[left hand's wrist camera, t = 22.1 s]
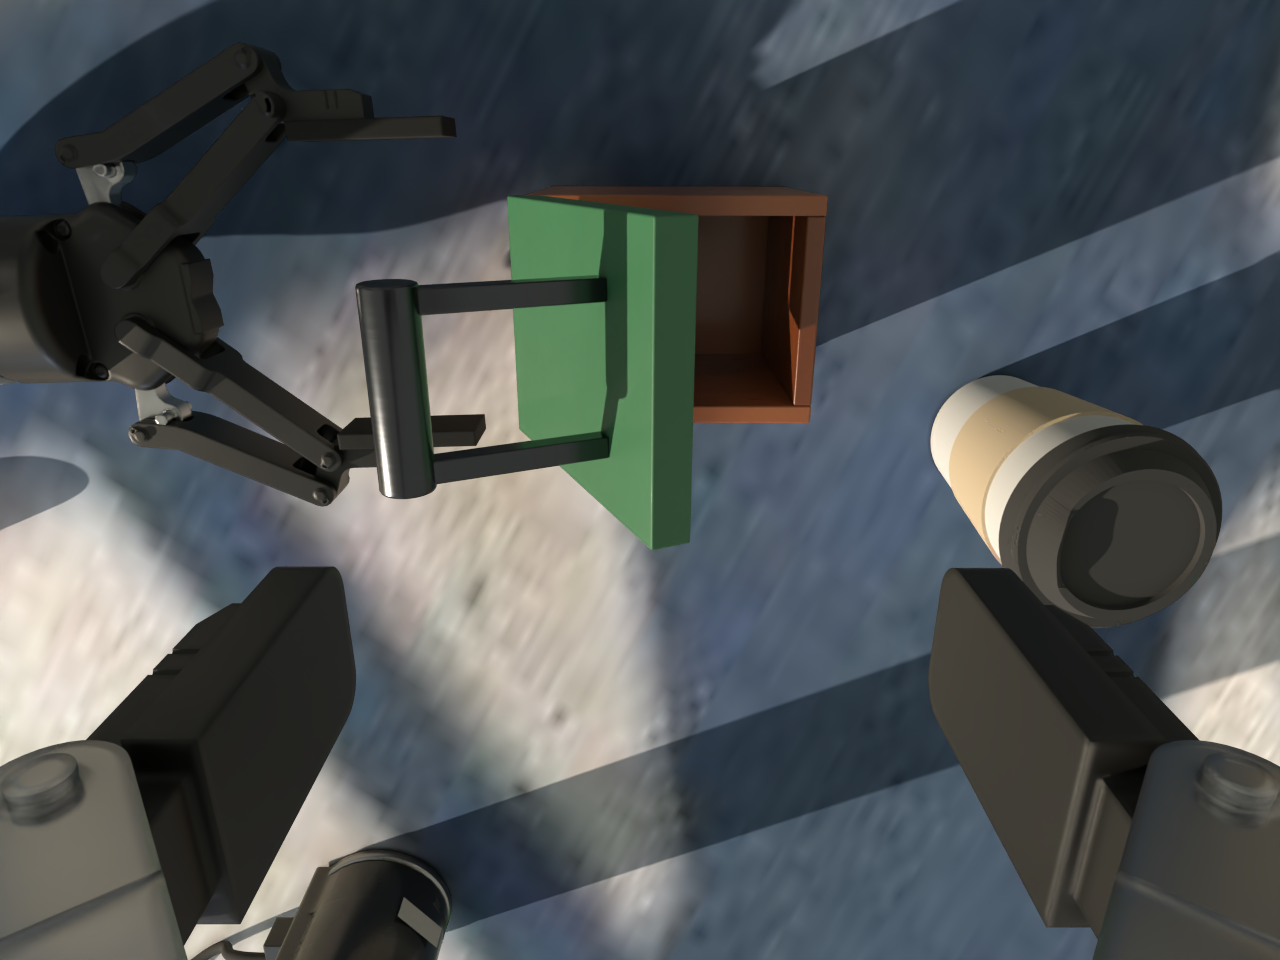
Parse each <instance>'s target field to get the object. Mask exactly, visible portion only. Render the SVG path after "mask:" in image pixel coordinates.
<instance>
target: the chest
mask: <svg viewBox="0 0 1280 960" xmlns="http://www.w3.org/2000/svg"><path fill="white" fill-rule="evenodd" d="M527 195H541V196H549V197H557V198H566V199H574V200H582V201H591V202H599V203H608V204H616V205H624V206H633V207H641V208H649V209H658V210H666V211H674V212H683V213H691V214H697V215H698V217H699V218H698V255H697V293H696V330H695V368H694V406H693V423H809V422H810V414H811V406H810V405H811V401H812V388H813V376H814V363H815V351H816V338H817V325H818V313H819V300H820V288H821V275H822V262H823V250H824V237H825V225H826V217H825V216H826V215H827V202H828V196H827V195H823V194H818V193H812V192H807V191H802V190H797V189H792V188H787V187H784V186H551V187H549V188H546V189H543V190H539V191H536V192H533V193H530V194H527Z"/></svg>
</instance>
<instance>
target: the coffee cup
mask: <svg viewBox="0 0 1280 960" xmlns="http://www.w3.org/2000/svg"><path fill="white" fill-rule="evenodd" d="M931 451H932V456H933V459H934V462H935V464H936V466H937V468H938V469H939V471H940V472H941V474H942V475H943V477H944V478H945V480H946V481H947V482H948V484H949V485H950V487H951V488H952V490H953V493H954V495H955V497H956V499H957V501H958V502H959V504H960V505H961V507H962V508H963V510H964V511H965V513H966V514H967V516H968V517H969V519H970V520H971V522H972V523H973V525H974V526H975V528H976V529H977V531H978V532H979V534H980V535H981V537H982V538H983V540H984V541H985V543H986V545H987V546H988V548H989V549H990V551H991V552H992V554H993V555H994V556H995V558H996V559H997V560H998V561H999V562H1000V563H1001V564H1002V566H1003V568H1009V569H1011V570H1013V571H1014V572H1015V573H1016V574H1017V576H1018V577H1019V578H1020V579H1021V580H1022V581H1023V582H1024V583H1025V584H1026V585H1027V587H1028V588H1029V589H1030V590H1031V591H1032V592H1033V593H1034V594H1035V595H1036V597H1037V598H1038V599H1039V600H1040V601H1041V602H1042V603H1043V604H1044V605H1054V606H1056V607H1058V608H1059V609H1061V610H1063V611H1064V612H1066V613H1068V614H1070V615H1071V616H1073V617H1075V618H1077V619H1078V620H1080V621H1082V622H1083V623H1085V624H1087V625H1089V626H1090V627H1091V628H1105V627H1114V626H1119V625H1124V624H1128V623H1131V622H1135V621H1137V620H1140V619H1143V618H1145V617H1147V616H1149V615H1151V614H1153V613H1156V612H1158V611H1160V610H1162V609H1164V608H1166V607H1167V606H1169V605H1171V604H1172V603H1174V602H1175V601H1176V600H1178V599H1179V598H1180V597H1182V596H1183V595H1184V594H1185V593H1186V592H1187V591H1188V590H1189V589H1190V588H1191V587H1192V586H1193V585H1194V584H1195V583H1196V581H1197V580H1198V579H1199V578H1200V576H1201V575H1202V573H1203V572H1204V570H1205V568H1206V567H1207V565H1208V563H1209V560H1210V558H1211V556H1212V553H1213V550H1214V548H1215V545H1216V542H1217V539H1218V536H1219V532H1220V528H1221V521H1222V499H1221V493H1220V489H1219V486H1218V483H1217V480H1216V478H1215V476H1214V474H1213V472H1212V470H1211V468H1210V467H1209V466H1208V464H1207V463H1206V462H1205V460H1204V459H1203V458H1202V457H1201V456H1200V455H1199V454H1198V452H1197V451H1196V450H1195V449H1194V448H1193V447H1192V446H1191V445H1189V444H1188V443H1187V442H1185V441H1184V440H1183V439H1181V438H1179V437H1178V436H1176V435H1174V434H1172V433H1170V432H1167V431H1165V430H1162V429H1159V428H1155V427H1150V426H1145V425H1143V424H1141V423H1140V422H1138V421H1136V420H1134V419H1131V418H1129V417H1126V416H1124V415H1121V414H1119V413H1116V412H1113V411H1111V410H1108V409H1106V408H1103V407H1100V406H1098V405H1095V404H1092V403H1090V402H1087V401H1085V400H1082V399H1079V398H1077V397H1074V396H1072V395H1069V394H1066V393H1064V392H1061V391H1058V390H1055V389H1052V388H1046V387H1039V386H1037V385H1034V384H1032V383H1029V382H1027V381H1024V380H1022V379H1019V378H1016V377H1012V376H1005V375H994V376H988V377H983V378H980V379H977V380H974V381H972V382H970V383H968V384H966V385H965V386H963V387H962V388H960V389H959V390H957V391H956V392H955V393H954V394H953V395H952V396H951V397H950V398H949V399H948V400H947V401H946V402H945V404H944V405H943V406H942V408H941V409H940V411H939V413H938V415H937V417H936V419H935V422H934V424H933V428H932V433H931Z"/></svg>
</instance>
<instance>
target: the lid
mask: <svg viewBox="0 0 1280 960" xmlns="http://www.w3.org/2000/svg"><path fill="white" fill-rule="evenodd" d="M507 201H508V220H509V239H510V258H511V277H512V280H502V281H484V282H467V283H450V284H432V285H418V283H417V282H415V281H412V280H405V279H381V280H370V281H364V282H360V283H358V284H356V287H355V288H356V297H357V305H358V313H359V322H360V330H361V339H362V347H363V355H364V364H365V372H366V381H367V389H368V397H369V406H370V414H371V423H372V431H373V439H374V448H375V456H376V465H377V473H378V481H379V490H380V492H381V494H382V495H384V496H386V497H389V498H394V499H410V498H417V497H421V496H424V495H427V494H429V493H431V492H433V491H434V490H435V489H436V486H437V484H441V483H447V482H454V481H461V480H467V479H474V478H480V477H487V476H493V475H500V474H507V473H513V472H520V471H526V470H533V469H539V468H546V467H552V466H560V467H561V468H562V469H563V470H565V471H566V472H567V473H568V474H569V475H570V476H571V477H572V478H573V479H574V480H575V481H577V482H578V483H579V484H580V485H581V486H582V487H583V488H584V489H585V490H586V491H587V492H589V493H590V494H591V495H592V496H593V497H594V498H595V499H596V500H597V501H598V502H599V503H601V504H602V505H603V506H604V507H605V508H606V509H607V510H608V511H609V512H610V513H612V514H613V515H614V516H615V517H616V518H617V519H618V520H619V521H620V522H621V523H622V524H624V525H625V526H626V527H627V528H628V529H629V530H630V531H631V532H632V533H633V534H634V535H636V536H637V537H638V538H639V539H640V540H641V541H642V542H643V543H644V544H645V545H646V546H648V547H649V548H650V549H651V550H656V549H661V548H666V547H671V546H675V545H680V544H685V543H689V542H690V519H691V481H692V443H693V406H694V368H695V330H696V293H697V255H698V218H699V217H698V215H697V214H691V213H683V212H674V211H666V210H658V209H649V208H641V207H633V206H624V205H616V204H608V203H599V202H591V201H582V200H574V199H566V198H557V197H549V196H541V195H518V196H508V197H507ZM501 309H513V316H514V335H515V354H516V373H517V392H518V411H519V429H520V430H521V431H522V432H523V433H524V434H525V435H526V436H527V437H528V438H530V439H531V440H532V441H526V442H518V443H511V444H504V445H497V446H489V447H482V448H475V449H468V450H460V451H453V452H446V453H439V454H434V449H433V438H432V428H431V417H430V406H429V395H428V384H427V373H426V362H425V352H424V341H423V330H422V319H421V315H432V314H446V313H460V312H473V311H487V310H501Z"/></svg>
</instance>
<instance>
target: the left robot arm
mask: <svg viewBox="0 0 1280 960" xmlns="http://www.w3.org/2000/svg"><path fill="white" fill-rule="evenodd" d="M928 684H929V695H930V701H931V705H932V709H933V712H934V715H935V717H936V720H937V721H938V723H939V725H940V727H941V729H942V731H943V733H944V735H945V737H946V739H947V740H948V742H949V744H950V746H951V748H952V750H953V752H954V754H955V756H956V757H957V759H958V761H959V763H960V765H961V767H962V769H963V771H964V773H965V774H966V776H967V778H968V780H969V782H970V784H971V786H972V788H973V790H974V791H975V793H976V795H977V797H978V799H979V801H980V803H981V805H982V807H983V809H984V810H985V812H986V814H987V816H988V818H989V820H990V822H991V824H992V826H993V827H994V829H995V831H996V833H997V835H998V837H999V839H1000V841H1001V843H1002V844H1003V846H1004V848H1005V850H1006V852H1007V854H1008V856H1009V858H1010V860H1011V862H1012V863H1013V865H1014V867H1015V869H1016V871H1017V873H1018V875H1019V877H1020V879H1021V880H1022V882H1023V884H1024V886H1025V888H1026V890H1027V892H1028V894H1029V896H1030V897H1031V899H1032V901H1033V903H1034V905H1035V907H1036V909H1037V911H1038V913H1039V915H1040V916H1041V918H1042V920H1043V922H1044V924H1045V926H1046V927H1091V929H1092V930H1093V932H1094V934H1095V936H1096V937H1097V939H1098V942H1097V945H1096V949H1095V952H1094V956H1093V960H1280V767H1279V766H1278V765H1276V764H1274V763H1272V762H1270V761H1268V760H1266V759H1264V758H1261V757H1259V756H1257V755H1255V754H1252V753H1249V752H1247V751H1244V750H1241V749H1238V748H1234V747H1231V746H1228V745H1223V744H1219V743H1214V742H1207V741H1200V740H1199V739H1198V738H1197V737H1196V736H1195V735H1194V734H1193V733H1192V732H1191V731H1190V730H1189V729H1188V728H1187V727H1186V726H1185V725H1184V724H1183V723H1182V722H1181V721H1180V720H1179V719H1178V718H1177V717H1176V715H1175V714H1174V713H1173V712H1172V711H1171V710H1170V709H1169V708H1168V707H1167V706H1166V705H1165V704H1164V703H1163V702H1162V701H1161V700H1160V699H1159V698H1158V697H1157V696H1156V695H1155V694H1154V693H1153V692H1152V691H1151V689H1150V688H1149V687H1148V686H1147V685H1146V684H1145V683H1144V682H1143V681H1142V680H1141V679H1140V678H1139V677H1134V676H1133V671H1132V670H1131V669H1130V668H1129V667H1128V666H1127V665H1126V663H1125V662H1124V661H1123V660H1122V659H1121V658H1120V657H1119V656H1114V655H1113V650H1112V649H1111V648H1110V647H1109V646H1108V645H1107V644H1106V643H1105V642H1104V641H1103V640H1102V638H1101V637H1100V636H1099V635H1098V634H1097V633H1096V632H1095V631H1094V630H1093V629H1092V628H1091V627H1090V626H1089V625H1087V624H1085V623H1083V622H1082V621H1080V620H1078V619H1077V618H1075V617H1073V616H1071V615H1070V614H1068V613H1066V612H1064V611H1063V610H1061V609H1059V608H1058V607H1056V606H1054V605H1044V604H1043V603H1042V602H1041V601H1040V600H1039V599H1038V598H1037V597H1036V595H1035V594H1034V593H1033V592H1032V591H1031V590H1030V589H1029V588H1028V587H1027V585H1026V584H1025V583H1024V582H1023V581H1022V580H1021V579H1020V578H1019V577H1018V576H1017V574H1016V573H1015V572H1014V571H1013V570H1011V569H1009V568H950V569H949V570H948V571H947V572H946V573H945V575H944V577H943V581H942V584H941V590H940V597H939V604H938V610H937V617H936V624H935V631H934V638H933V644H932V651H931V658H930V665H929V675H928ZM355 687H356V669H355V661H354V654H353V647H352V640H351V633H350V626H349V619H348V612H347V606H346V599H345V592H344V585H343V581H342V577H341V575H340V573H339V571H338V570H337V569H336V568H335V567H275V568H273V569H272V570H271V571H270V572H269V573H268V574H267V575H266V577H265V578H264V579H263V580H262V581H261V582H260V583H259V584H258V585H257V587H256V588H255V589H254V590H253V591H252V592H251V593H250V594H249V596H248V597H247V598H246V599H245V600H244V601H243V602H242V603H232V604H230V605H229V606H227V607H225V608H223V609H222V610H220V611H218V612H217V613H215V614H213V615H211V616H210V617H208V618H206V619H205V620H203V621H201V622H199V623H198V624H196V625H195V626H194V627H193V628H192V629H191V630H190V631H189V632H188V633H187V634H186V636H185V637H184V638H183V639H182V640H181V641H180V642H179V643H178V644H177V645H176V646H175V647H174V648H173V653H172V654H167V655H166V656H165V658H164V659H163V660H162V661H161V662H160V663H159V664H158V665H157V666H156V667H155V668H154V669H153V674H152V675H147V676H146V677H145V679H144V680H143V681H142V682H141V683H140V684H139V685H138V686H137V687H136V688H135V689H134V690H133V691H132V692H131V693H130V694H129V695H128V696H127V697H126V698H125V700H124V701H123V702H122V703H121V704H120V705H119V706H118V707H117V708H116V709H115V710H114V711H113V712H112V713H111V714H110V715H109V716H108V717H107V718H106V719H105V721H104V722H103V723H102V724H101V725H100V726H99V727H98V728H97V729H96V730H95V731H94V732H93V733H92V734H91V735H90V736H89V737H88V738H87V739H86V740H81V741H73V742H66V743H61V744H57V745H52V746H49V747H46V748H42V749H39V750H36V751H33V752H31V753H28V754H25V755H23V756H21V757H19V758H16V759H14V760H12V761H10V762H8V763H6V764H4V765H2V766H1V767H0V960H187V956H186V952H185V949H184V945H185V943H186V941H187V940H188V938H189V936H190V934H191V933H192V931H193V929H194V927H195V926H196V924H241V922H242V920H243V918H244V916H245V914H246V912H247V910H248V908H249V907H250V905H251V903H252V901H253V899H254V897H255V895H256V893H257V891H258V889H259V887H260V885H261V884H262V882H263V880H264V878H265V876H266V874H267V872H268V870H269V868H270V866H271V864H272V862H273V861H274V859H275V857H276V855H277V853H278V851H279V849H280V847H281V845H282V843H283V841H284V840H285V838H286V836H287V834H288V832H289V830H290V828H291V826H292V824H293V822H294V820H295V818H296V817H297V815H298V813H299V811H300V809H301V807H302V805H303V803H304V801H305V799H306V797H307V795H308V794H309V792H310V790H311V788H312V786H313V784H314V782H315V780H316V778H317V776H318V774H319V772H320V771H321V769H322V767H323V765H324V763H325V761H326V759H327V757H328V755H329V753H330V751H331V749H332V748H333V746H334V744H335V742H336V740H337V738H338V736H339V734H340V732H341V730H342V728H343V726H344V725H345V723H346V721H347V719H348V717H349V714H350V712H351V709H352V705H353V701H354V696H355ZM451 907H452V902H451V896H450V892H449V890H448V887H447V885H446V884H445V882H444V881H443V879H442V878H441V877H440V876H439V874H438V873H437V872H436V871H434V870H433V869H432V868H431V867H430V866H428V865H427V864H425V863H424V862H422V861H420V860H418V859H416V858H414V857H412V856H409V855H406V854H403V853H399V852H394V851H387V850H370V851H363V852H358V853H355V854H352V855H349V856H347V857H345V858H343V859H341V860H340V861H338V862H337V863H335V864H334V865H333V866H331V867H318V868H317V869H316V871H315V873H314V875H313V878H312V880H311V882H310V884H309V886H308V889H307V891H306V893H305V895H304V897H303V900H302V902H301V904H300V906H299V908H298V911H297V913H296V915H295V917H294V918H276V920H275V922H274V925H273V927H272V929H271V931H270V933H269V935H268V937H267V939H266V941H265V943H264V946H263V948H264V952H265V953H258V952H243V951H237V950H234V949H233V948H232V945H231V943H230V942H228V941H222V942H218V943H216V944H214V945H212V946H210V947H209V948H207V949H205V950H204V951H202V952H201V953H199V954H198V955H197V956H195V957H194V958H193V959H191V960H208V959H209V958H210V957H212V956H214V955H216V954H219V953H222V956H223V957H224V958H225V959H226V960H437V959H438V955H439V951H440V947H441V944H442V940H443V938H444V934H445V930H446V928H447V925H448V922H449V918H450V914H451Z"/></svg>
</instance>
